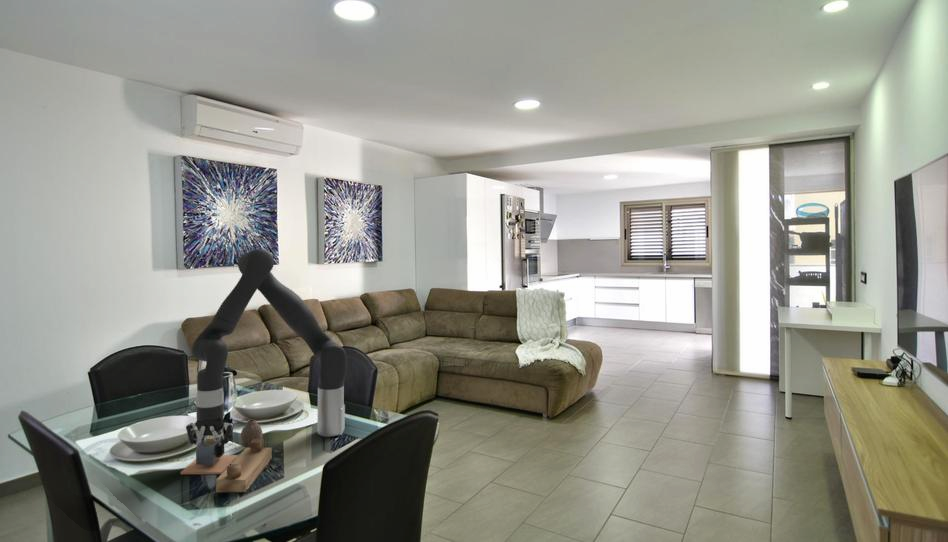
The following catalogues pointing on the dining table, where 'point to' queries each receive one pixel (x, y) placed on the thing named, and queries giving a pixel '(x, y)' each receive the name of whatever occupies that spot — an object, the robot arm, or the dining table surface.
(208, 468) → the mat
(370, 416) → the dining table surface
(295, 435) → the dining table surface
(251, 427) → the brown oval piece
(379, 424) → the dining table surface
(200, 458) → the grey block
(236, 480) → the plane body
